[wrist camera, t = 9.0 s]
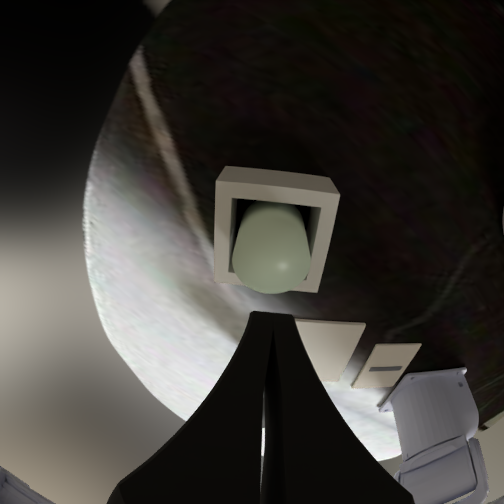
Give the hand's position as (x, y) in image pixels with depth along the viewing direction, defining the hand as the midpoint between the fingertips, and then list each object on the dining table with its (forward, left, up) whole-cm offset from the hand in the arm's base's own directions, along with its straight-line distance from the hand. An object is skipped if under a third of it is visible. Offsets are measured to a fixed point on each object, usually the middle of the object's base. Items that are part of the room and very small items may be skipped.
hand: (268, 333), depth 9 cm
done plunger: (0, 0, -8) cm, 8 cm away
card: (-13, +14, -9) cm, 21 cm away
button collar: (0, 0, -9) cm, 9 cm away
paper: (-4, +12, -9) cm, 16 cm away
